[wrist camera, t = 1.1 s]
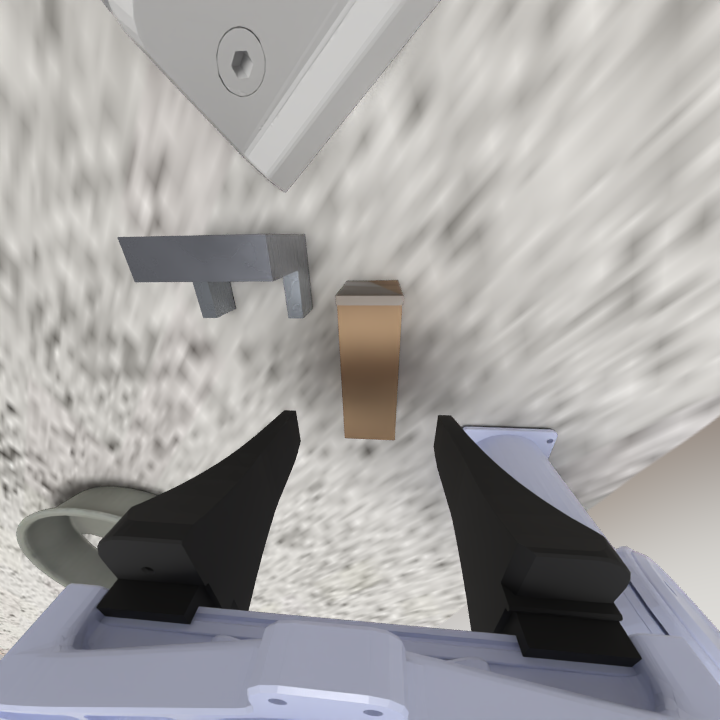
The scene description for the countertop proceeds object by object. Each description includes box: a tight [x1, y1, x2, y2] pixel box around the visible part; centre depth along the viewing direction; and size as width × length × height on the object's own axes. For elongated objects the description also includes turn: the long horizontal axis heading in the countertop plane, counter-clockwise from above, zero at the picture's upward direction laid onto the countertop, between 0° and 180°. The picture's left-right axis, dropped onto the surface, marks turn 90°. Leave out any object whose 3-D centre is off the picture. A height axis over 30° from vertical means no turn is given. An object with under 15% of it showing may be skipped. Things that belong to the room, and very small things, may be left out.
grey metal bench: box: [118, 234, 312, 318], centre depth 15 cm, size 5×7×6 cm
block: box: [335, 280, 404, 440], centre depth 18 cm, size 10×4×5 cm, turn 1°
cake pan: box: [16, 487, 157, 590], centre depth 34 cm, size 25×25×4 cm
